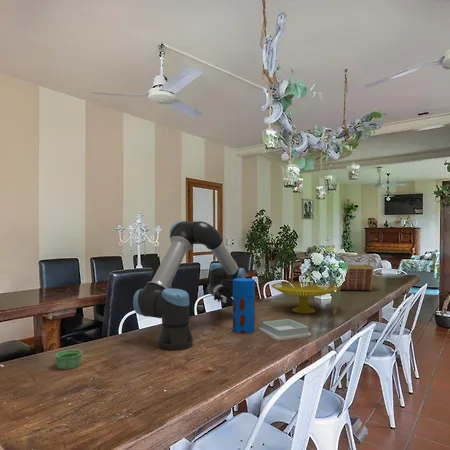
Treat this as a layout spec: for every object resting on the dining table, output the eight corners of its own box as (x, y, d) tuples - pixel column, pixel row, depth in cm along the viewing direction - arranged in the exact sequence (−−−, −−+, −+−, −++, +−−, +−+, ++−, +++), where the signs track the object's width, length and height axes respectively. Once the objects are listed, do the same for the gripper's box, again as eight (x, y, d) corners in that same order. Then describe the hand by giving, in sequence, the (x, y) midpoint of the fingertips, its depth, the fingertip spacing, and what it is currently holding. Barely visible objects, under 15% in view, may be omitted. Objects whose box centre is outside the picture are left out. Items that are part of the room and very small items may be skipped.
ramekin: (86, 365, 129) (86, 353, 130) (60, 372, 123) (60, 359, 123) (76, 359, 136) (76, 347, 136) (51, 365, 130) (51, 353, 130)
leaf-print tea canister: (253, 334, 169) (253, 281, 170) (231, 332, 171) (231, 280, 172) (255, 327, 180) (255, 278, 180) (235, 326, 182) (235, 277, 182)
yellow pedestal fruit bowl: (322, 322, 191) (322, 294, 191) (258, 311, 215) (258, 287, 215) (347, 309, 223) (347, 285, 223) (289, 301, 247) (289, 279, 248)
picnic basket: (365, 287, 309) (365, 253, 309) (375, 292, 283) (375, 255, 284) (331, 286, 312) (331, 252, 312) (337, 291, 286) (337, 254, 286)
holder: (278, 340, 159) (278, 331, 159) (259, 330, 176) (259, 321, 176) (311, 336, 166) (311, 327, 166) (290, 326, 182) (290, 318, 183)
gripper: (241, 297, 208) (259, 304, 188) (201, 300, 198) (215, 308, 178) (241, 284, 208) (259, 290, 188) (201, 287, 198) (215, 293, 178)
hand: (237, 299), depth 183 cm, fingers open, 13 cm apart
